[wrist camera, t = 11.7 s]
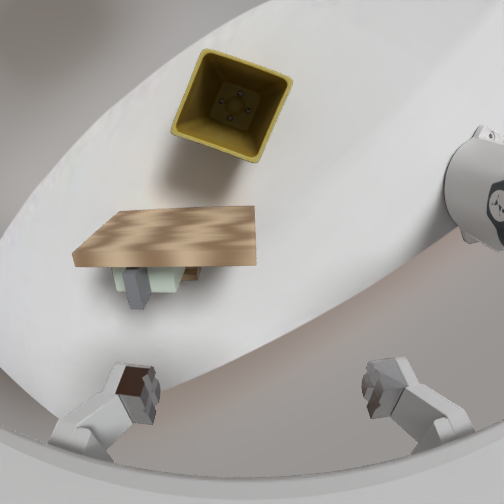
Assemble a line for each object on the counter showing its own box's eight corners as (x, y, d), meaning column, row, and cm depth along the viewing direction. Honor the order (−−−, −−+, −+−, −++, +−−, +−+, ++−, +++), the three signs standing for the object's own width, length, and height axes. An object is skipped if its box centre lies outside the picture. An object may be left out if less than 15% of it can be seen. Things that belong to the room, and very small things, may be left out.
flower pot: (256, 153, 35) (257, 165, 27) (187, 129, 34) (168, 133, 26) (284, 87, 32) (295, 79, 24) (214, 62, 30) (203, 46, 22)
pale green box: (182, 235, 35) (163, 274, 27) (186, 266, 37) (170, 310, 29) (128, 237, 35) (97, 273, 27) (134, 266, 37) (106, 308, 29)
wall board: (254, 205, 38) (256, 249, 26) (255, 259, 41) (257, 320, 29) (119, 211, 38) (71, 253, 26) (128, 261, 41) (90, 315, 29)
